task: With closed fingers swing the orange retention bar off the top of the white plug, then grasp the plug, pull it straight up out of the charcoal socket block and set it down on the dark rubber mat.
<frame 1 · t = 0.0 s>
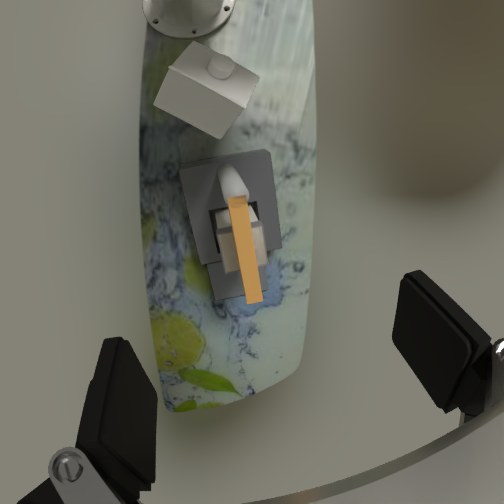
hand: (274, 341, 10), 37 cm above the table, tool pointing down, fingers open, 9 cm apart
socket: (230, 202, 46), on the table
mat: (238, 275, 51), on the table
milk carton: (204, 95, 38), on the table
clip: (239, 228, 37), point 10 cm above the table, hinge at 0.0°
plug: (234, 220, 46), point 1 cm above the table, touching socket
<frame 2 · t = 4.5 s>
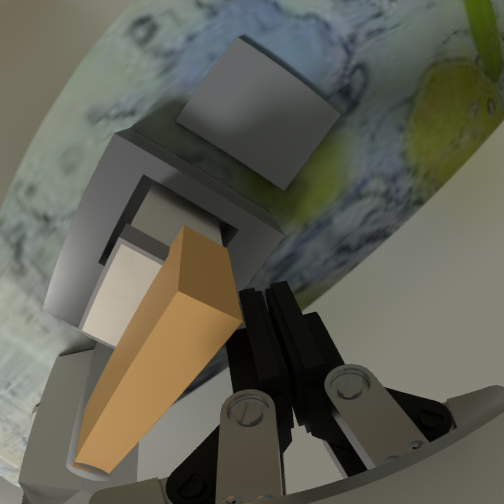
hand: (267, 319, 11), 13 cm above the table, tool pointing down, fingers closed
socket: (153, 249, 23), on the table
mat: (260, 113, 20), on the table
milk carton: (100, 372, 28), on the table
clip: (134, 335, 14), point 10 cm above the table, hinge at 0.0°, touching gripper
plug: (168, 228, 21), point 1 cm above the table, touching socket
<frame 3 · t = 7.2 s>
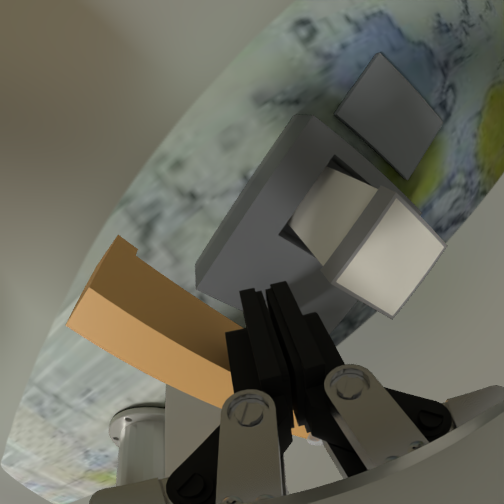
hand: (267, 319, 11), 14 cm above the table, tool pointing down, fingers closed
socket: (303, 228, 26), on the table
mat: (392, 117, 23), on the table
milk carton: (213, 363, 30), on the table
clip: (228, 316, 16), point 10 cm above the table, hinge at 81.0°, touching gripper
plug: (325, 207, 24), point 1 cm above the table, touching socket
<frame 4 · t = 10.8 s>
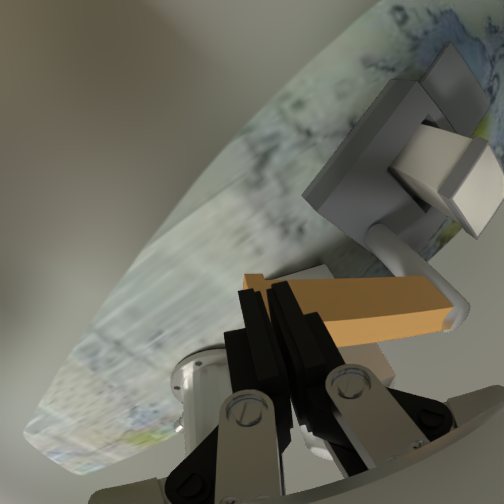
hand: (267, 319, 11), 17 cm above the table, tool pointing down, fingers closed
socket: (389, 173, 27), on the table
mat: (456, 93, 24), on the table
milk carton: (296, 298, 33), on the table
clip: (345, 272, 20), point 10 cm above the table, hinge at 120.6°
plug: (409, 157, 26), point 1 cm above the table, touching socket
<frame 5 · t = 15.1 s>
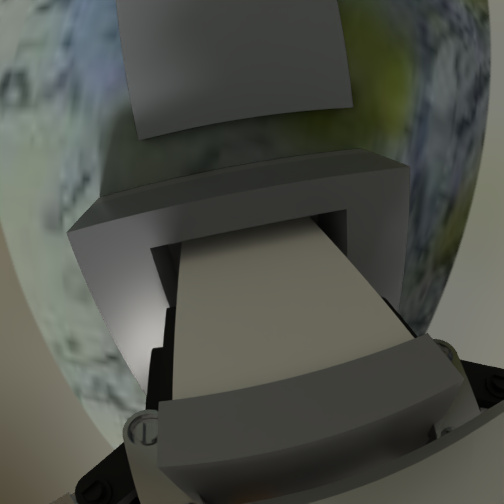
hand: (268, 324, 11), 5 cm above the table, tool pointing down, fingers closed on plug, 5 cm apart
socket: (255, 301, 16), on the table
mat: (235, 38, 10), on the table
plug: (251, 269, 14), point 1 cm above the table, touching gripper, socket
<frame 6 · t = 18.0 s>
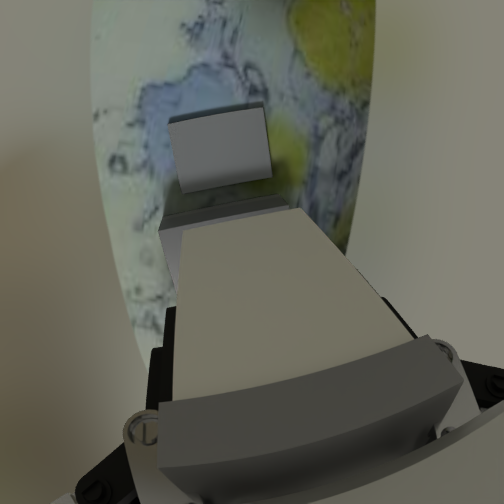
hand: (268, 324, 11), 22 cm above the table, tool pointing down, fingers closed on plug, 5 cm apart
socket: (232, 265, 34), on the table
mat: (220, 149, 29), on the table
plug: (251, 270, 14), point 18 cm above the table, touching gripper
when the fingers open (5 cm above the table, at t = 21.2 s): plug stays where it is, resting on mat.
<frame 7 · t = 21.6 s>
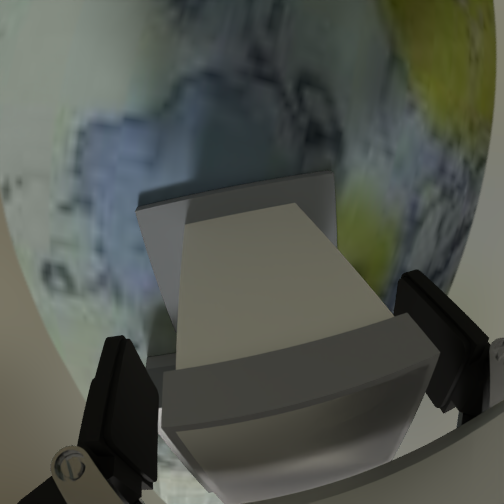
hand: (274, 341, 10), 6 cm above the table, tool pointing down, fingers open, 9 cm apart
socket: (259, 405, 21), on the table
mat: (246, 254, 15), on the table
plug: (249, 262, 15), point 1 cm above the table, touching mat
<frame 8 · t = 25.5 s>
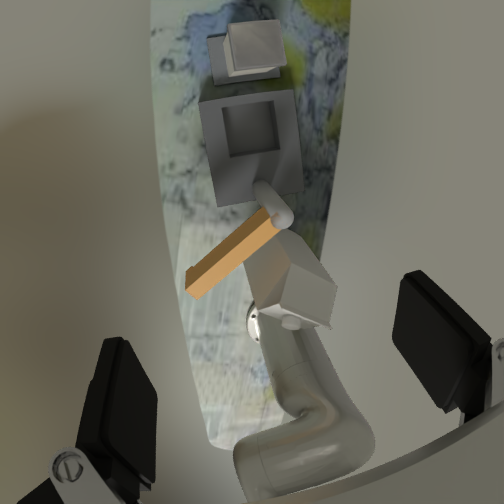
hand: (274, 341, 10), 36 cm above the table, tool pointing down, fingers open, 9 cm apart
socket: (249, 144, 42), on the table
mat: (243, 57, 36), on the table
milk carton: (270, 244, 50), on the table
clip: (233, 233, 37), point 10 cm above the table, hinge at 121.9°
plug: (244, 57, 36), point 1 cm above the table, touching mat
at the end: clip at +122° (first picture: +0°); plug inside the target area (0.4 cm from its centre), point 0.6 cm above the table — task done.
